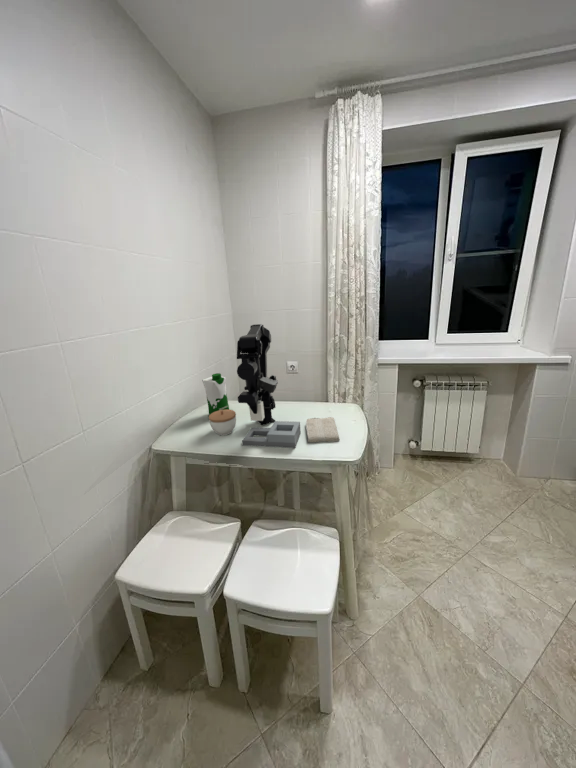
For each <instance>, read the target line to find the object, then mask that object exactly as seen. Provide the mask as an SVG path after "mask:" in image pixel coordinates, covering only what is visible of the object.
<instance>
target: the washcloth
mask: <svg viewBox="0 0 576 768" xmlns="http://www.w3.org/2000/svg"><path fill="white" fill-rule="evenodd" d="M335 421H336V420H335V418H334V417H332V416H331V417H330V416H329V417H328V416H327V417H321V418H319V417H314V418H313V417H312V418H307V419H306V420H305V427H306V433H307V434H306V435H307V443H321V442H322V443H323V442H327V443H328V442H339V441H340V435H339V432H338V428H337V425H336V422H335Z"/></svg>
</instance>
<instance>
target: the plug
mask: <svg viewBox="0 0 576 768" xmlns="http://www.w3.org/2000/svg"><path fill="white" fill-rule="evenodd" d="M248 409H249V417H250V421H251V422H252V421H255V422H257V421H263V419H264V418H265V416H264V406H263V401H261V400H258V407H257V414H254V413H253V411H252V410H251V408H250V407H249V406H248Z"/></svg>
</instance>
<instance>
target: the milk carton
mask: <svg viewBox="0 0 576 768" xmlns="http://www.w3.org/2000/svg"><path fill="white" fill-rule="evenodd" d="M226 383H227V376H222V374H221V373H220V372H219V373H213V374H211V376H209V377H207V378H204V379H202V384H203V386H204V390H205V394H206V395H205V396H206V401H207V406H208V407H207V408H208V416H209V415H210V414H211V413H213V412H216V411H219V410H226V409H228V410H230V406H229V400H228V393H227V385H226Z"/></svg>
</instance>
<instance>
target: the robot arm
mask: <svg viewBox="0 0 576 768" xmlns="http://www.w3.org/2000/svg"><path fill="white" fill-rule="evenodd" d="M271 343H272V335H271V332H270V329H268V328H266V327H264V324H262V323H260V324H252V325H250V329H249V331H248V332H247V334H245V335H242V336H240V337H239V338H238V340H237V345H236V360H241V363H240V364H239V365H238V367H237V369H236V373H237V375H238V378H239V379H241V380H242V381H245V386H244V387H243V389H244V391H242V392H241V393H240V394H239V395H238V396H237V402H238V404H247V406H248V408H249V407H250V408H251V410H252V411H253V413H254V414H257V407H258V400H261V401H263V406H264V416H265V418H264V419H263V421H256V422H258V423H259V424H260V425H261V426H264V425H269V424H271V423H272V424H273V423H274V422H275V421H276V420H275V419H274V418H273V416H272V410H274V409H276V407H277V406H276V402H275V398H274V396H273V395H272V393H274V392H275V391H276V390H277V386H278V384H279V383H278V380H277V376H276V375H274V374H271V375H270V376H269V377H268V360H267V359H268V354H267V353H268V351H269V350H270V348H271Z"/></svg>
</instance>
